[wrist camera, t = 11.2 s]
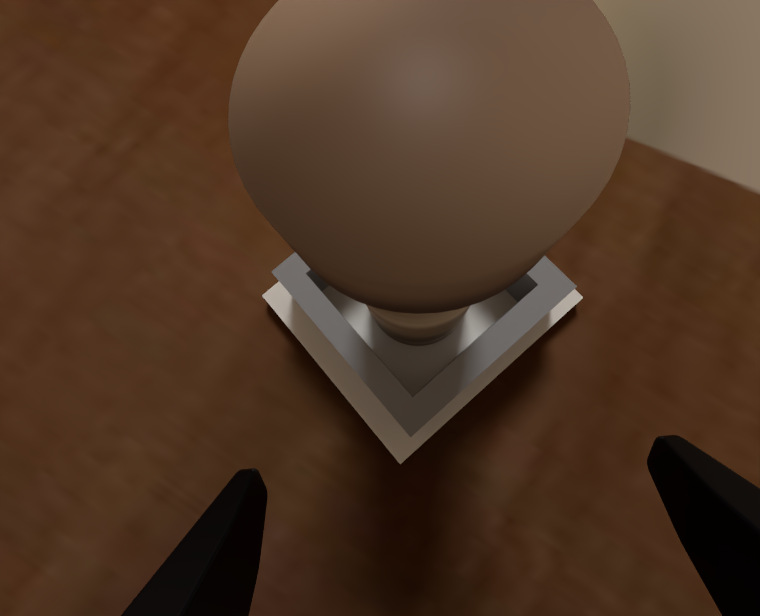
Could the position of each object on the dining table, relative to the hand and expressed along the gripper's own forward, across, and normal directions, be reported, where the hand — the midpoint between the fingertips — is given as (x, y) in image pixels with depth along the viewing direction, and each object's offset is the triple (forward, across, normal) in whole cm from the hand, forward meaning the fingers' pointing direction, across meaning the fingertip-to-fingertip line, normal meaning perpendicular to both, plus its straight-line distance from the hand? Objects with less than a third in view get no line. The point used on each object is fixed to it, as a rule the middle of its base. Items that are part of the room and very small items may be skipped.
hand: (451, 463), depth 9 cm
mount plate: (+11, 0, +2) cm, 11 cm away
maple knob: (+10, 0, +2) cm, 10 cm away
